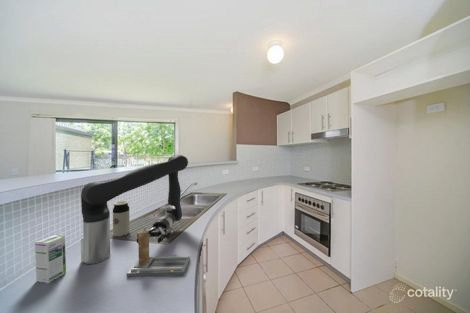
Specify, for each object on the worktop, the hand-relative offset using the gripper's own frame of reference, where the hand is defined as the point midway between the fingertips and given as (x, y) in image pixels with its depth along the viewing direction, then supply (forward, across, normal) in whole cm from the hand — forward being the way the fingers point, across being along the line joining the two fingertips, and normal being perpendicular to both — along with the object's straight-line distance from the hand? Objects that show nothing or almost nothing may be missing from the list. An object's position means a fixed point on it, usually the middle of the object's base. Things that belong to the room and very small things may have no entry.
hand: (148, 241), depth 75 cm
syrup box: (+8, -32, +9) cm, 34 cm away
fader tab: (+4, 0, +7) cm, 8 cm away
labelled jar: (-28, -28, +9) cm, 41 cm away
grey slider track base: (+4, +6, +9) cm, 12 cm away
